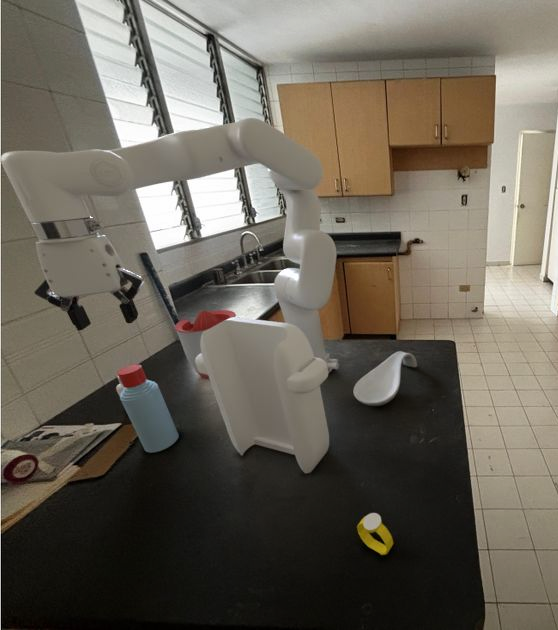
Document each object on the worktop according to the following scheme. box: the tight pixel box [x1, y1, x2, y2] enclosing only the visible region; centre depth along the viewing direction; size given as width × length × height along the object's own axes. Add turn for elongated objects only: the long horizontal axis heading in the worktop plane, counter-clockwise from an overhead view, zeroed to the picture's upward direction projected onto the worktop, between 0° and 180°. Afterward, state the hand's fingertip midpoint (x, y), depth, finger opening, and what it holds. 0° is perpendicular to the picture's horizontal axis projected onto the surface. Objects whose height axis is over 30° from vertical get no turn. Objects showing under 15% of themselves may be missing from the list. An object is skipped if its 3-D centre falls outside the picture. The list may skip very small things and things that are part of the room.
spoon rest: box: [353, 350, 418, 407], centre depth 91 cm, size 24×12×7 cm, turn 153°
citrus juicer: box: [174, 309, 237, 380], centre depth 101 cm, size 16×17×20 cm
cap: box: [117, 364, 148, 388], centre depth 69 cm, size 4×4×3 cm
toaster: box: [195, 316, 330, 475], centre depth 67 cm, size 27×11×30 cm, turn 71°
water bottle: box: [119, 379, 179, 454], centre depth 73 cm, size 6×6×19 cm
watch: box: [356, 512, 394, 556], centre depth 51 cm, size 6×3×6 cm, turn 59°
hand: (108, 323), depth 65 cm, fingers open, 7 cm apart
